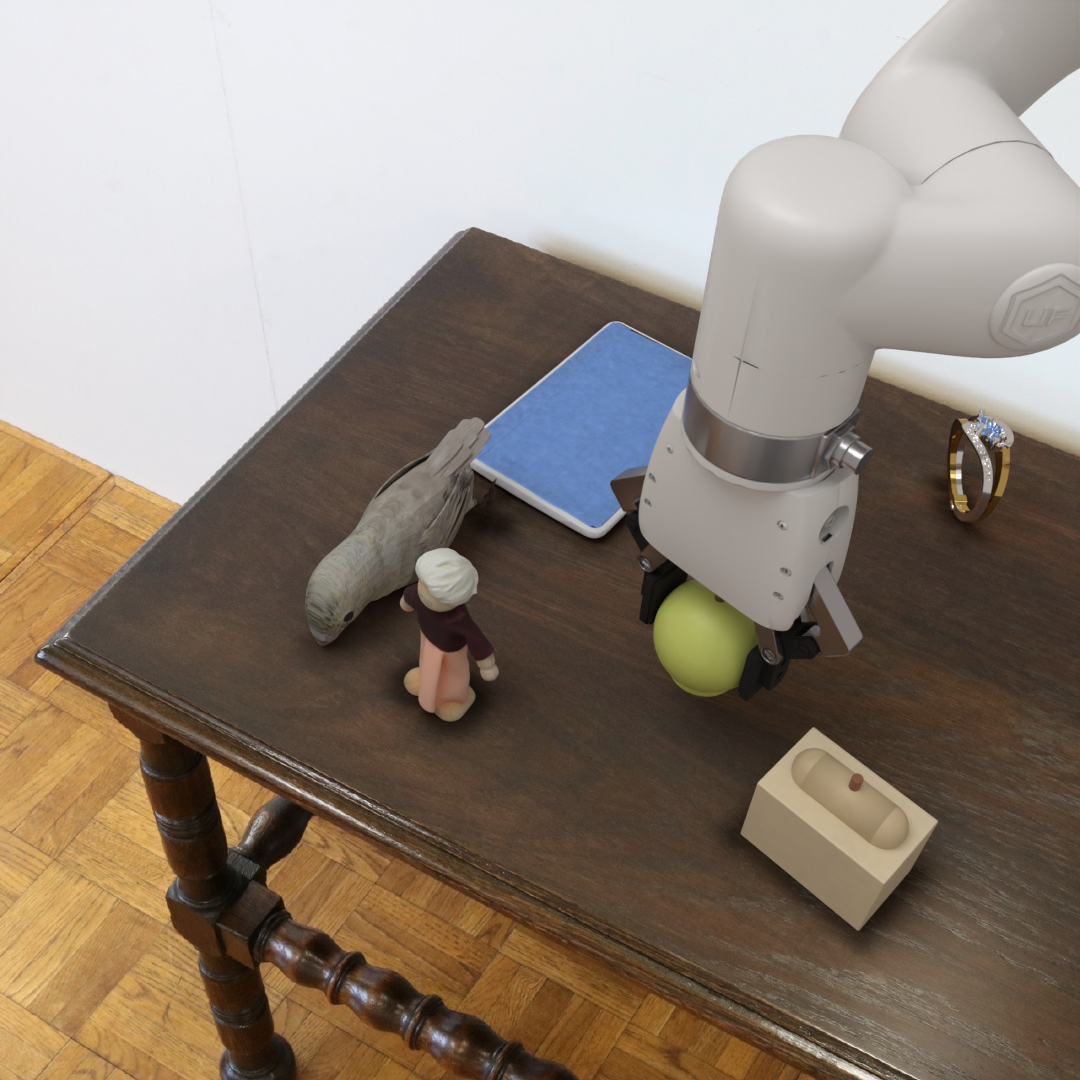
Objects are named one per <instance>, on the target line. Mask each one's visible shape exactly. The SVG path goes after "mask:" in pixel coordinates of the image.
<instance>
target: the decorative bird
mask: <svg viewBox="0 0 1080 1080" xmlns="http://www.w3.org/2000/svg"><path fill="white" fill-rule="evenodd" d="M484 426H485V421H483V419H481V418H479V417H476V416H474V417H472V418H471V419H469V418H463V419H462V420H460V422H459V423H458V424H457V425H456V426H455V428H453V429H450V430H449V431H448V432H447V433H446V434H445V436H444V437H443V438H442V440H441V441H440V442H439V443H438V445H437V446H436V447H435V448H433V449H431V451H429V452H427V453H425V454H423V455H421V456H419V457H417V458H416V459H413V460H412V461H410V462H409V463H407V464H405V465H403V466H402V467H401V468H399V470H397V471H395V472H394V473H393V474H392V475H391V476H390V477H389V478H388V479H387V480H386V481H385V482H383V484H382V485H381V487H380V488H378V490H377V491H376V493H374V496H373V497H372V498H371V500H370V501H369V503H368V505H367V506H366V508H365V510H364V511H363V513H362V515H361V518H360V519H359V522H358V523H357V525H356V527H355V528H354V530H352V531H351V532H350V534H349V535H348V536H347V537H346V538H345V539H344V540H342V541H341V542H340V543H339V544H338V545H337V546H335V547H334V548H333V549H332V550H331V551H330V552H329V553H328V554H327V555H325V556H324V558H322V559H321V561H320V562H319V563H318V565H317V566H316V568H315V569H314V570H313V571H312V574H311V576H310V577H309V580H308V583H307V586H306V591H305V599H304V600H305V602H304V610H305V617H306V620H307V623H308V627H309V630H310V633H311V634H312V636H313V638H314V640H315V641H316V643H317V644H318V645H319V646H320V647H326V646H328V645H330V643H333V642H334V641H335V640H336V639H337V638H338V637H339V636H340V635H341V634H342V632H343V631H344V630H345V629H346V627H347V626H348V625H349V624H351V623H352V622H353V621H355V620H356V619H357V618H358V616H359V615H360V614H361V613H362V612H363V610H364V609H365V608H366V606H367V605H368V604H369V603H371V602H374V601H378V600H379V599H381V598H383V597H386V596H388V595H390V594H391V593H393V592H394V591H398V590H399V589H401V588H404V587H408V586H410V585H413V584H415V583H416V582H418V581H419V578H418V576H417V574H416V571H415V567H416V563H417V560H418V559H419V557H421V556H422V555H423V554H424V553H426V552H429V551H432V550H435V549H439V548H449V549H450V547H451V545H452V543H453V542H454V540H455V538H456V536H457V534H458V532H459V530H460V527H461V525H462V523H463V520H464V519H465V518H464V517H465V516H466V514H467V513H468V512H469V511H470V510H471V509H473V508H478V507H481V506H483V505H484V507H483V516H484V518H486V517H487V513H488V510H489V508H490V510H491V513H492V514H493V516H495V517H496V518H497V519H499V520H501V518H500V516H499V515H498V513H497V510H496V495H495V494H494V491H495V486H496V484H495V483H496V480H497V478H496V479H495V480H494V481H493V482H492V483H491V484H490V487H489V490H488V492H486V493H485V494H484V496H483V498H481V499H480V500H477V499H476V498H473V496H474V495H473V493H474V492H473V491H474V484H475V474H474V470H473V469H472V468H471V467H470V463H471V462H472V461H473V460H474V459H475V458H476V457H477V456H478V455H479V454H480V452H481V451H482V449H483V446H484V445H485V444H486V443H487V442H488V441H489V440H490V438H491V436H492V435H491V433H490V431H488V430H487V429H486V428H484Z"/></svg>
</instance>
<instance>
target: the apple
mask: <svg viewBox="0 0 1080 1080" xmlns="http://www.w3.org/2000/svg"><path fill="white" fill-rule="evenodd" d="M652 629H653V630H652V639H653V645H654V651H655V653H656V655H657V658H658V660H659V663H660V664H661V665H662V667H663V668H664V670H665V671H666V672H667V673H668V674H669V676H670V677H671V678H672V680H673V682H674V683H675V685H677V686H678V687H679V688H680V689H682V690H684V691H685V692H687V693H688V694H691V695H694V696H698V697H705V698H707V697H716V696H720V695H722V694H724V693H726V692H728V691H730V690H732V689H735V688H738V686H739V683H740V679H741V676H742V672H743V669H744V665H745V662H746V658H747V655H748V653H749V652H750V651H751V650H752V649H753V648H754V647H755V646H756V645H757V644H758V642H757V637H756V632H755V627H754V622H753V620H752V619H750V618H749V617H747V616H746V615H744V614H743V613H741V612H740V611H739V610H737V609H736V608H734V607H733V606H732V605H730V604H729V603H727V602H726V601H725V600H723V599H722V598H720V597H719V596H718V595H716V594H715V593H714V592H712V591H711V590H709V589H708V588H707V587H705V586H704V585H703V584H701V583H700V582H699V581H697V580H696V579H694V578H691V579H690V580H687V581H686V582H685V583H683V584H681V585H680V586H678V587H677V588H675V589H674V590H673V591H672V592H671V593H670V594H669V595H668V596H667V597H666V598H665V600H664V601H663V602H662V604H661V606H660V608H659V610H658V612H657V615H656V618H655V621H654V623H653V627H652Z"/></svg>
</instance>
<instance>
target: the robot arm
mask: <svg viewBox="0 0 1080 1080" xmlns="http://www.w3.org/2000/svg"><path fill="white" fill-rule="evenodd" d="M1079 69H1080V0H948V1H947V2H946V3H945V4H944V5H942V7H941V8H940V9H939V10H938V11H937V12H935V14H934V15H933V16H931V18H929V19H928V21H926V23H924V25H922V27H920V28H919V29H918V30H917V31H916V33H914V34H913V35H912V36H911V37H910V38H909V39H908V40H907V41H906V42H905V43H904V44H903V45H902V46H901V47H900V48H899V49H898V50H897V51H896V52H895V53H894V54H893V56H891V58H889V60H888V61H887V62H885V64H884V65H882V67H881V68H880V69H879V71H878V72H877V73H876V74H875V76H874V77H873V78H872V79H871V81H870V82H869V83H868V84H867V85H866V87H865V88H864V89H863V91H862V92H861V93H860V94H859V96H858V97H857V99H856V100H855V102H854V103H853V105H852V107H851V109H850V111H849V112H848V114H847V116H846V118H845V119H844V122H843V124H842V127H841V130H840V132H839V135H838V137H835V136H829V135H823V134H822V135H820V134H796V135H789V136H788V135H787V136H783V137H779V138H775V139H772V140H769V141H767V142H763V143H761V144H759V145H757V146H756V147H754V148H753V149H751V150H749V151H748V152H747V153H746V154H745V155H744V156H742V158H740V159H739V160H738V162H737V163H736V165H734V167H733V169H732V170H731V171H730V173H729V175H728V177H727V179H726V181H725V184H724V187H723V190H722V194H721V198H720V204H719V207H718V213H717V217H716V218H717V219H716V223H715V229H714V236H713V241H712V246H711V252H710V256H709V257H710V258H709V263H708V269H707V275H706V279H705V280H706V281H705V286H704V290H703V297H702V302H701V308H700V314H699V319H698V324H697V330H696V335H695V336H696V337H695V342H694V347H693V352H692V358H691V359H692V363H691V367H690V372H689V377H688V383H687V388H685V389H684V390H683V391H682V392H681V393H680V394H679V396H678V397H677V399H676V400H675V402H674V404H673V406H672V408H671V410H670V412H669V414H668V416H667V418H666V420H665V422H664V424H663V427H662V429H661V431H660V433H659V436H658V439H657V441H656V444H655V446H654V449H653V452H652V455H651V458H650V462H649V465H647V466H641V467H635V468H629V469H626V470H625V471H623V472H622V473H621V474H619V475H618V476H617V477H615V478H614V479H612V480H611V482H610V486H611V489H612V491H613V493H614V494H615V496H616V498H617V500H618V502H619V504H620V506H621V508H622V510H623V512H625V511H626V516H625V520H624V521H625V524H626V527H627V528H628V530H629V532H630V535H631V536H632V538H633V540H634V542H635V543H636V545H637V547H638V550H639V551H640V552H639V553H638V554H637V556H636V563H637V565H638V566H639V568H640V569H641V570H642V571H643V576H642V583H641V589H640V595H641V596H642V598H641V604H640V609H639V616H638V620H639V621H640V622H642V623H643V624H645V625H646V626H647V625H650V626H651V625H654V621H655V618H656V615H657V612H658V610H659V608H660V606H661V604H662V602H663V601H664V600H665V598H666V597H667V596H668V595H669V594H670V593H671V592H672V591H673V590H674V589H675V588H677V587H678V586H680V585H681V584H683V583H685V582H687V581H688V576H690V577H692V579H696V580H697V581H699V582H700V583H701V584H703V585H704V586H705V587H707V588H708V589H709V590H711V591H712V592H714V593H715V594H716V595H718V596H719V597H720V598H722V599H723V600H725V601H726V602H727V603H729V604H730V605H732V606H733V607H734V608H736V609H737V610H739V611H740V612H741V613H743V614H744V615H746V616H747V617H749V618H750V619H752V620H753V622H754V627H755V632H756V637H757V642H758V644H757V645H756V646H755V647H754V648H753V649H752V650H751V651H750V652H749V653H748V655H747V658H746V662H745V665H744V669H743V672H742V676H741V679H740V683H739V686H738V687H737V690H736V692H737V693H738V697H740V698H741V699H742V700H743V701H744V702H748V701H749V700H751V699H752V698H753V697H754V696H755V695H756V694H757V693H758V692H760V690H761V689H763V688H764V689H765V690H767V692H771V691H772V690H774V689H775V687H777V686H778V685H779V684H780V683H781V681H783V679H784V678H785V676H786V674H787V672H788V669H789V666H790V664H791V660H814V658H816V656H822V657H825V658H826V657H828V658H829V657H848V656H849V654H851V653H852V652H853V651H854V650H855V649H856V648H857V647H858V646H860V644H861V643H862V642H863V640H864V635H863V632H862V631H861V629H860V627H859V625H858V623H857V621H856V619H855V617H854V616H853V614H852V611H851V610H850V607H849V606H848V604H847V602H846V600H845V598H844V596H843V594H842V592H841V591H840V589H839V588H840V587H838V585H837V584H838V582H839V581H840V578H841V575H842V572H843V568H844V565H845V562H846V558H847V553H848V551H849V550H848V549H849V546H850V542H851V538H852V532H853V528H854V523H855V517H856V513H857V511H856V510H857V504H858V494H859V482H860V481H859V476H860V474H861V473H862V472H863V471H864V470H865V469H866V468H867V466H868V465H869V463H870V462H871V460H872V458H873V455H874V449H873V447H870V446H868V444H865V443H864V442H862V438H861V437H860V436H859V435H857V430H856V429H857V428H856V427H857V423H858V420H859V417H860V414H861V409H859V408H858V406H859V402H860V400H861V396H862V394H863V390H864V388H865V385H866V382H867V378H868V375H869V372H870V369H871V366H872V364H873V363H872V362H873V360H874V356H875V353H876V352H877V350H883V349H885V350H895V351H896V350H897V351H906V352H914V353H915V352H916V353H926V354H934V355H942V356H943V355H944V356H951V357H959V358H973V359H975V358H976V359H1008V358H1009V359H1010V358H1019V357H1025V356H1029V355H1033V354H1037V353H1041V352H1044V351H1048V350H1050V349H1053V348H1055V347H1057V346H1060V345H1062V344H1064V343H1066V342H1068V341H1070V340H1072V339H1074V338H1075V337H1077V336H1078V335H1080V185H1079V184H1078V183H1076V181H1075V180H1074V179H1073V178H1072V177H1071V176H1070V175H1069V174H1068V173H1067V172H1066V171H1065V169H1063V168H1062V165H1060V164H1059V163H1058V162H1057V160H1055V158H1054V156H1053V154H1052V153H1051V152H1050V151H1049V150H1048V148H1046V146H1045V145H1044V144H1043V143H1042V142H1041V140H1039V139H1038V138H1037V136H1035V135H1034V133H1033V132H1032V131H1031V130H1030V129H1029V128H1028V126H1027V125H1026V124H1025V123H1024V122H1023V121H1022V120H1021V119H1020V117H1021V116H1022V115H1023V114H1024V113H1025V112H1027V110H1028V109H1030V108H1031V107H1032V106H1033V105H1034V104H1035V103H1036V102H1037V101H1038V100H1040V99H1041V98H1042V97H1043V96H1044V95H1045V94H1047V93H1048V92H1049V91H1050V90H1051V89H1053V88H1054V87H1055V86H1057V85H1058V84H1059V83H1060V82H1063V80H1065V78H1067V77H1068V76H1070V75H1071V74H1073V73H1074V72H1076V71H1078V70H1079ZM806 606H807V607H808V609H809V611H810V613H811V614H812V616H813V618H814V620H815V621H809V617H808V612H807V607H806Z"/></svg>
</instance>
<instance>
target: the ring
mask: <svg viewBox="0 0 1080 1080" xmlns="http://www.w3.org/2000/svg"><path fill="white" fill-rule="evenodd" d="M985 413H986V409H985V408H981V407H980V408H979V411H978V413H977V415H973V416H971V417H969V418H965V417H964V418H963V417H962V418H955V419H954V420H953V422H952V423H951V424H952V425H951V428H950V432H949V438H948V445H947V457H946V458H947V460H946V476H947V478H946V479H947V488H948V489H947V490H948V498H949V501H948V505H949V509H950V511H953V513H954V515H955V518H956V519H958V520H959V521H960V522H964V523H965V522H966V523H974V524H975V523H976V524H977V523H981V522H983V521H985V520H986V519H988V518H989V517H990V515H991V514H992V513H993V512H994V511H995V509H996V508H997V506H998V504H999V503H1000V501H1001V499H1002V497H1003V494H1004V492H1005V489H1006V486H1007V482H1008V478H1009V474H1010V465H1011V449H1010V448H1011V447H1012V445H1013V443H1014V442H1015V441H1014V440H1015V436H1014V433H1013V431H1012V428H1010V427H1009V426H1008V425H1007V424H1006V423H1005V422H1004V421H1002V420H1000V419H999V417H998V416H991V415H985ZM967 441H968V442H969V443H970V445H971V447H972V449H973V450H974V452H975V454H976V456H977V459H978V461H979V464H980V470H981V485H980V491H979V495H978V498H977V501H976V503H975V505H974V506H973V507H972V509H970V508H969V507H968V505H967V504H968V497H967V495H966V494H964V491H963V484H962V465H963V455H964V451H965V446H966V443H967ZM1000 441H1001V442H1000ZM986 448H987V449H986ZM987 450H988V451H990V452H991V451H994V459H995V468H994V469H995V470H994V474H993V465H992V461H991V458H990V455H989V453H988V451H987ZM993 475H994V477H993Z"/></svg>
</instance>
